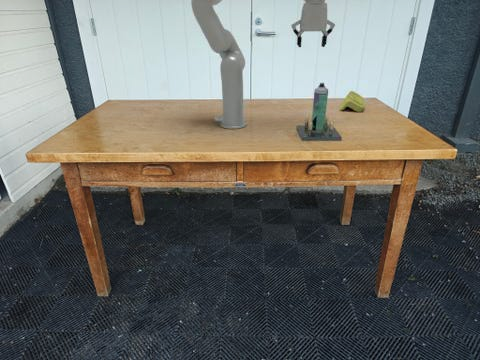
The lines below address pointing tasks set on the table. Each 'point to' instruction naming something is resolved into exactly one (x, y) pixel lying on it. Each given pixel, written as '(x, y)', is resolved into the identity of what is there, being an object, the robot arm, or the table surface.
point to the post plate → (327, 135)
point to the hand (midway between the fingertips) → (311, 46)
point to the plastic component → (353, 102)
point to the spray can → (319, 108)
